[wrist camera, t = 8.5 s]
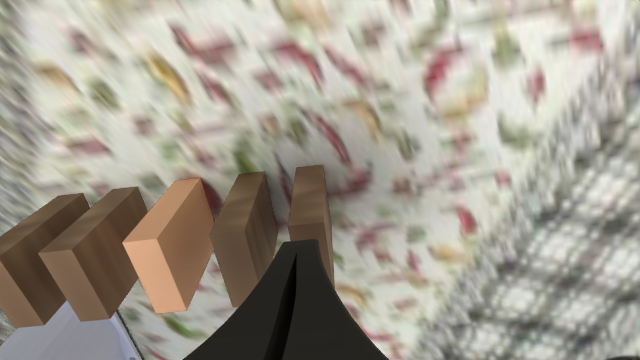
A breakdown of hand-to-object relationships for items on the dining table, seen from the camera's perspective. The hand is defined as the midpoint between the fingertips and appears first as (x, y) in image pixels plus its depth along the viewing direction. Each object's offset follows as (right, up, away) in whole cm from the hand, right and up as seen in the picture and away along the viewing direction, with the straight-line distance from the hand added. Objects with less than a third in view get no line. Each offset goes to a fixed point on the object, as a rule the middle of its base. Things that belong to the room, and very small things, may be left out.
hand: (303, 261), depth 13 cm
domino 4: (-4, +1, +11) cm, 12 cm away
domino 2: (-13, 0, +12) cm, 17 cm away
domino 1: (-17, 0, +12) cm, 20 cm away
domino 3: (-8, +1, +11) cm, 14 cm away
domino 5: (0, +2, +11) cm, 11 cm away
